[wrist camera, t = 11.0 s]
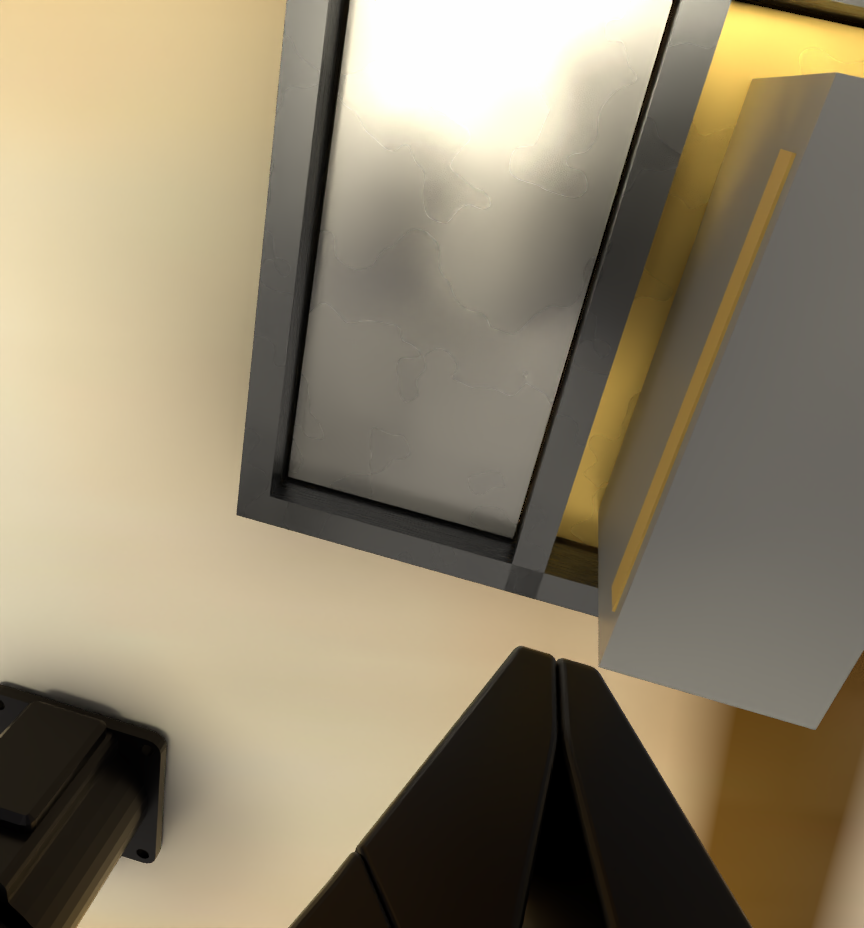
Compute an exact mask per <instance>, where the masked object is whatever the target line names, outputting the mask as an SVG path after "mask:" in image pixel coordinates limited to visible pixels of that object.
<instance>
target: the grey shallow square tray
mask: <svg viewBox="0 0 864 928" xmlns="http://www.w3.org/2000/svg"><path fill="white" fill-rule="evenodd" d="M672 1H673V0H287V3H286V14H285V24H284V34H283V44H282V55H281V65H280V75H279V85H278V96H277V106H276V116H275V126H274V136H273V147H272V157H271V167H270V177H269V188H268V198H267V208H266V218H265V229H264V239H263V249H262V259H261V269H260V280H259V290H258V300H257V310H256V321H255V331H254V341H253V351H252V362H251V372H250V382H249V392H248V402H247V413H246V423H245V433H244V443H243V454H242V464H241V474H240V484H239V495H238V505H237V515H238V516H242V517H246V518H249V519H253V520H256V521H260V522H263V523H267V524H270V525H274V526H277V527H281V528H285V529H288V530H292V531H295V532H299V533H302V534H306V535H309V536H313V537H316V538H320V539H324V540H327V541H331V542H334V543H338V544H341V545H345V546H348V547H352V548H355V549H359V550H363V551H366V552H370V553H373V554H377V555H380V556H384V557H387V558H391V559H394V560H398V561H402V562H405V563H409V564H412V565H416V566H419V567H423V568H426V569H430V570H433V571H437V572H441V573H444V574H448V575H451V576H455V577H458V578H462V579H465V580H469V581H472V582H476V583H480V584H483V585H487V586H490V587H494V588H497V589H501V590H504V591H508V592H511V593H515V594H518V595H522V596H526V597H529V598H533V599H536V600H540V601H543V602H547V603H550V604H554V605H557V606H561V607H565V608H568V609H572V610H575V611H579V612H582V613H586V614H589V615H593V616H596V617H598V510H599V508H600V505H601V502H602V499H603V496H604V494H605V491H606V488H607V485H608V482H609V480H610V477H611V474H612V471H613V468H614V466H615V463H616V460H617V457H618V454H619V451H620V449H621V446H622V443H623V440H624V437H625V435H626V432H627V429H628V426H629V423H630V421H631V418H632V415H633V412H634V409H635V407H636V404H637V401H638V398H639V395H640V393H641V390H642V387H643V384H644V381H645V379H646V376H647V373H648V370H649V367H650V365H651V362H652V359H653V356H654V353H655V350H656V348H657V345H658V342H659V339H660V336H661V334H662V331H663V328H664V325H665V322H666V320H667V317H668V314H669V311H670V308H671V306H672V303H673V300H674V297H675V294H676V292H677V289H678V286H679V283H680V280H681V278H682V275H683V272H684V269H685V266H686V263H687V261H688V258H689V255H690V252H691V249H692V247H693V244H694V241H695V238H696V235H697V233H698V230H699V227H700V224H701V221H702V219H703V216H704V213H705V210H706V207H707V205H708V202H709V199H710V196H711V193H712V191H713V188H714V185H715V182H716V179H717V176H718V174H719V171H720V168H721V165H722V162H723V160H724V157H725V154H726V151H727V148H728V146H729V143H730V140H731V137H732V134H733V132H734V129H735V126H736V123H737V120H738V118H739V115H740V112H741V109H742V106H743V104H744V101H745V98H746V95H747V92H748V89H749V87H750V84H751V81H752V79H757V78H770V77H783V76H795V75H808V74H820V73H833V72H838V73H843V74H847V75H852V76H856V77H860V78H864V29H862V28H858V27H853V26H848V25H844V24H839V23H834V22H830V21H825V20H820V19H816V18H811V17H806V16H802V15H797V14H793V13H788V12H783V11H779V10H774V9H769V8H765V7H760V6H755V5H751V4H746V3H741V2H737V1H732V0H675V3H674V7H673V10H672V13H671V17H670V20H669V23H668V27H667V30H666V33H665V37H664V40H663V44H662V47H661V50H660V54H659V57H658V60H657V64H656V67H655V70H654V74H653V77H652V80H651V84H650V87H649V90H648V94H647V97H646V100H645V104H644V107H643V111H642V114H641V117H640V121H639V124H638V127H637V131H636V134H635V137H634V141H633V144H632V147H631V151H630V154H629V157H628V161H627V164H626V167H625V171H624V174H623V178H622V181H621V184H620V188H619V191H618V194H617V198H616V201H615V204H614V208H613V211H612V214H611V218H610V221H609V224H608V228H607V231H606V234H605V238H604V241H603V245H602V248H601V251H600V255H599V258H598V261H597V265H596V268H595V271H594V275H593V278H592V281H591V285H590V288H589V291H588V295H587V298H586V301H585V305H584V308H583V312H582V315H581V318H580V322H579V325H578V328H577V332H576V335H575V338H574V342H573V345H572V348H571V352H570V355H569V358H568V362H567V365H566V368H565V372H564V375H563V378H562V382H561V385H560V389H559V392H558V395H557V399H556V402H555V405H554V409H553V412H552V415H551V419H550V422H549V425H548V429H547V432H546V435H545V439H544V442H543V445H542V449H541V452H540V456H539V459H538V462H537V466H536V469H535V472H534V476H533V479H532V482H531V486H530V489H529V492H528V496H527V499H526V502H525V506H524V509H523V512H522V516H521V519H520V523H518V520H519V516H520V513H521V510H522V506H523V503H524V499H525V496H526V493H527V489H528V486H529V483H530V479H531V476H532V472H533V469H534V466H535V462H536V459H537V456H538V452H539V449H540V446H541V442H542V439H543V435H544V432H545V429H546V425H547V422H548V419H549V415H550V412H551V409H552V405H553V402H554V398H555V395H556V392H557V388H558V385H559V382H560V378H561V375H562V372H563V368H564V365H565V361H566V358H567V355H568V351H569V348H570V345H571V341H572V338H573V335H574V331H575V328H576V324H577V321H578V318H579V314H580V311H581V308H582V304H583V301H584V298H585V294H586V291H587V287H588V284H589V281H590V277H591V274H592V271H593V267H594V264H595V261H596V257H597V254H598V250H599V247H600V244H601V240H602V237H603V234H604V230H605V227H606V224H607V220H608V217H609V213H610V210H611V207H612V203H613V200H614V197H615V193H616V190H617V187H618V183H619V180H620V176H621V173H622V170H623V166H624V163H625V160H626V156H627V153H628V149H629V146H630V143H631V139H632V136H633V133H634V129H635V126H636V123H637V119H638V116H639V112H640V109H641V106H642V102H643V99H644V96H645V92H646V89H647V86H648V82H649V79H650V75H651V72H652V69H653V65H654V62H655V59H656V55H657V52H658V49H659V45H660V42H661V38H662V35H663V32H664V28H665V25H666V22H667V18H668V15H669V12H670V8H671V5H672ZM752 1H757V2H761V3H766V4H771V5H775V6H780V7H785V8H789V9H794V10H799V11H803V12H808V13H813V14H817V15H822V16H827V17H831V18H836V19H841V20H845V21H850V22H855V23H859V24H864V0H752Z"/></svg>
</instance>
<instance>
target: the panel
mask: <svg viewBox="0 0 864 928" xmlns="http://www.w3.org/2000/svg"><path fill="white" fill-rule="evenodd" d="M598 627H599V667H600V668H604V669H607V670H611V671H614V672H618V673H621V674H624V675H628V676H631V677H635V678H638V679H642V680H645V681H649V682H652V683H655V684H659V685H662V686H666V687H669V688H673V689H676V690H680V691H683V692H686V693H690V694H693V695H697V696H700V697H704V698H707V699H711V700H714V701H717V702H721V703H724V704H728V705H731V706H735V707H738V708H741V709H745V710H748V711H752V712H755V713H759V714H762V715H766V716H769V717H772V718H776V719H779V720H783V721H786V722H790V723H793V724H797V725H800V726H803V727H807V728H810V729H814V730H816V728H817V727H818V725H819V723H820V722H821V720H822V718H823V717H824V715H825V713H826V712H827V710H828V708H829V707H830V705H831V703H832V702H833V700H834V698H835V697H836V695H837V693H838V692H839V690H840V688H841V687H842V685H843V683H844V682H845V680H846V678H847V677H848V675H849V673H850V672H851V670H852V668H853V667H854V665H855V663H856V662H857V660H858V658H859V657H860V655H861V653H862V652H863V650H864V78H860V77H856V76H852V75H847V74H843V73H838V72H833V73H820V74H808V75H795V76H783V77H770V78H757V79H752V81H751V84H750V87H749V89H748V92H747V95H746V98H745V101H744V104H743V106H742V109H741V112H740V115H739V118H738V120H737V123H736V126H735V129H734V132H733V134H732V137H731V140H730V143H729V146H728V148H727V151H726V154H725V157H724V160H723V162H722V165H721V168H720V171H719V174H718V176H717V179H716V182H715V185H714V188H713V191H712V193H711V196H710V199H709V202H708V205H707V207H706V210H705V213H704V216H703V219H702V221H701V224H700V227H699V230H698V233H697V235H696V238H695V241H694V244H693V247H692V249H691V252H690V255H689V258H688V261H687V263H686V266H685V269H684V272H683V275H682V278H681V280H680V283H679V286H678V289H677V292H676V294H675V297H674V300H673V303H672V306H671V308H670V311H669V314H668V317H667V320H666V322H665V325H664V328H663V331H662V334H661V336H660V339H659V342H658V345H657V348H656V350H655V353H654V356H653V359H652V362H651V365H650V367H649V370H648V373H647V376H646V379H645V381H644V384H643V387H642V390H641V393H640V395H639V398H638V401H637V404H636V407H635V409H634V412H633V415H632V418H631V421H630V423H629V426H628V429H627V432H626V435H625V437H624V440H623V443H622V446H621V449H620V451H619V454H618V457H617V460H616V463H615V466H614V468H613V471H612V474H611V477H610V480H609V482H608V485H607V488H606V491H605V494H604V496H603V499H602V502H601V505H600V508H599V510H598Z"/></svg>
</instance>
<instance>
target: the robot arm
mask: <svg viewBox="0 0 864 928" xmlns="http://www.w3.org/2000/svg"><path fill="white" fill-rule="evenodd" d="M166 749H167V745H166V741H165V740H164V738H163V737H162V736H161V735H160V734H158V733H156V732H154V731H151V730H147V729H144V728H141V727H138V726H134V725H131V724H128V723H125V722H121V721H118V720H115V719H112V718H108V717H105V716H102V715H99V714H95V713H92V712H89V711H86V710H82V709H79V708H76V707H73V706H69V705H66V704H63V703H60V702H56V701H53V700H50V699H47V698H44V697H40V696H37V695H34V694H31V693H27V692H24V691H21V690H18V689H14V688H11V687H8V686H4V685H0V928H77V926H78V924H79V923H80V921H81V919H82V918H83V916H84V915H85V913H86V911H87V910H88V908H89V907H90V905H91V903H92V902H93V900H94V899H95V897H96V895H97V894H98V892H99V891H100V889H101V887H102V886H103V884H104V883H105V881H106V879H107V878H108V876H109V875H110V873H111V871H112V870H113V868H114V866H115V865H116V863H117V862H118V860H119V858H120V857H121V856H124V857H127V858H130V859H133V860H136V861H139V862H143V863H152V862H153V861H154V860H155V859H156V857H157V855H158V853H159V852H160V849H161V835H162V818H163V801H164V783H165V766H166ZM289 928H752V926H751V924H750V923H749V921H748V919H747V918H746V916H745V914H744V913H743V911H742V909H741V908H740V906H739V904H738V903H737V901H736V899H735V898H734V896H733V894H732V893H731V891H730V889H729V888H728V886H727V884H726V883H725V881H724V879H723V878H722V876H721V874H720V873H719V871H718V869H717V868H716V866H715V864H714V863H713V861H712V859H711V858H710V856H709V854H708V853H707V851H706V849H705V848H704V846H703V844H702V843H701V841H700V839H699V838H698V836H697V834H696V833H695V831H694V829H693V828H692V826H691V824H690V823H689V821H688V819H687V818H686V816H685V814H684V813H683V811H682V809H681V808H680V806H679V804H678V803H677V801H676V799H675V798H674V796H673V794H672V793H671V791H670V789H669V788H668V786H667V784H666V783H665V781H664V779H663V778H662V776H661V774H660V773H659V771H658V769H657V768H656V766H655V764H654V763H653V761H652V759H651V758H650V756H649V754H648V753H647V751H646V749H645V748H644V746H643V744H642V743H641V741H640V739H639V738H638V736H637V734H636V733H635V731H634V729H633V728H632V726H631V724H630V723H629V721H628V719H627V718H626V716H625V714H624V713H623V711H622V709H621V708H620V706H619V704H618V703H617V701H616V700H615V698H614V696H613V695H612V693H611V691H610V690H609V688H608V686H607V685H606V683H605V681H604V680H603V678H602V676H601V675H600V673H599V672H598V671H597V670H596V669H595V668H593V667H591V666H588V665H585V664H581V663H578V662H574V661H571V660H567V659H564V658H561V659H558V660H557V661H555V658H554V657H553V656H552V655H550V654H547V653H544V652H540V651H537V650H534V649H530V648H527V647H524V646H519V647H517V648H515V649H514V650H513V651H512V653H511V654H510V655H509V656H508V658H507V659H506V660H505V661H504V663H503V664H502V665H501V666H500V668H499V669H498V670H497V671H496V673H495V674H494V675H493V676H492V678H491V679H490V680H489V682H488V683H487V684H486V685H485V687H484V688H483V689H482V690H481V692H480V693H479V694H478V695H477V697H476V698H475V699H474V700H473V702H472V703H471V704H470V705H469V707H468V708H467V709H466V710H465V712H464V713H463V714H462V715H461V717H460V718H459V719H458V720H457V722H456V723H455V724H454V725H453V727H452V728H451V729H450V730H449V732H448V733H447V734H446V735H445V737H444V738H443V739H442V740H441V742H440V743H439V744H438V745H437V747H436V748H435V749H434V750H433V752H432V753H431V754H430V755H429V757H428V758H427V759H426V760H425V762H424V763H423V764H422V765H421V767H420V768H419V769H418V770H417V772H416V773H415V774H414V775H413V777H412V778H411V779H410V780H409V782H408V783H407V784H406V786H405V787H404V788H403V789H402V791H401V792H400V793H399V794H398V796H397V797H396V798H395V799H394V801H393V802H392V803H391V804H390V806H389V807H388V808H387V809H386V811H385V812H384V813H383V814H382V816H381V817H380V818H379V819H378V821H377V822H376V823H375V824H374V826H373V827H372V828H371V829H370V831H369V832H368V833H367V834H366V836H365V837H364V838H363V839H362V841H361V842H360V843H359V844H358V846H357V847H356V850H355V852H353V853H351V854H350V855H349V856H348V857H347V859H346V860H345V861H344V862H343V864H342V865H341V866H340V867H339V869H338V870H337V871H336V872H335V874H334V875H333V876H332V877H331V879H330V880H329V881H328V882H327V884H326V885H325V886H324V887H323V888H322V889H321V891H320V892H319V893H318V894H317V895H316V896H315V897H314V899H313V900H312V901H311V902H310V903H309V904H308V906H307V907H306V908H305V909H304V910H303V911H302V913H301V914H300V915H299V916H298V917H297V918H296V919H295V921H294V922H293V923H292V924H291V925H290V926H289Z"/></svg>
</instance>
